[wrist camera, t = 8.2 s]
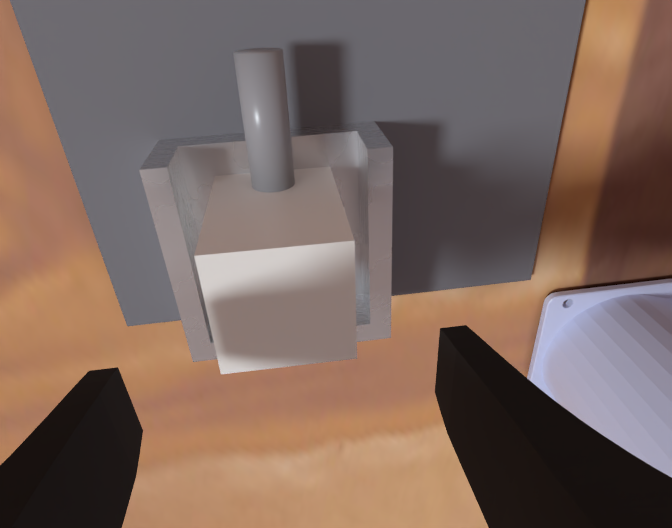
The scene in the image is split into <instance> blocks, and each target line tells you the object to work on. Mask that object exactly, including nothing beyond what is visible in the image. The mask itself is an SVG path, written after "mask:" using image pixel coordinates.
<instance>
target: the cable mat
mask: <svg viewBox="0 0 672 528" xmlns="http://www.w3.org/2000/svg"><path fill="white" fill-rule="evenodd" d="M10 2H11V4H12V7H13V10H14V13H15V16H16V18H17V21H18V24H19V27H20V29H21V32H22V35H23V38H24V41H25V43H26V46H27V49H28V52H29V54H30V57H31V60H32V63H33V65H34V68H35V71H36V74H37V77H38V79H39V82H40V85H41V88H42V90H43V93H44V96H45V99H46V102H47V104H48V107H49V110H50V113H51V115H52V118H53V121H54V124H55V127H56V129H57V132H58V135H59V138H60V140H61V143H62V146H63V149H64V152H65V154H66V157H67V160H68V163H69V165H70V168H71V171H72V174H73V177H74V179H75V182H76V185H77V188H78V190H79V193H80V196H81V199H82V201H83V204H84V207H85V210H86V213H87V215H88V218H89V221H90V224H91V226H92V229H93V232H94V235H95V238H96V240H97V243H98V246H99V249H100V251H101V254H102V257H103V260H104V263H105V265H106V268H107V271H108V274H109V276H110V279H111V282H112V285H113V288H114V290H115V293H116V296H117V299H118V301H119V304H120V307H121V310H122V312H123V315H124V318H125V321H126V324H127V326H134V325H143V324H151V323H160V322H169V321H177V320H181V317H180V314H179V310H178V306H177V303H176V299H175V296H174V292H173V289H172V285H171V282H170V278H169V274H168V271H167V267H166V264H165V260H164V257H163V253H162V250H161V246H160V243H159V239H158V235H157V232H156V228H155V225H154V221H153V218H152V214H151V211H150V207H149V203H148V200H147V196H146V193H145V189H144V186H143V182H142V179H141V175H140V171H139V169H140V168H141V166H142V165H143V163H144V162H145V160H146V159H147V157H148V156H149V154H150V153H151V151H152V149H153V148H154V146H155V145H156V143H157V142H158V140H163V139H175V138H187V137H198V136H210V135H222V134H233V133H244V126H243V119H242V112H241V105H240V98H239V91H238V84H237V77H236V70H235V62H234V55H233V52H235V51H238V50H243V49H251V48H281V49H283V56H284V67H285V78H286V89H287V100H288V111H289V123H290V129H292V128H303V127H315V126H327V125H338V124H350V123H362V122H373V121H374V122H375V123H376V124H377V126H378V127H379V128H380V130H381V131H382V132H383V134H384V135H385V137H386V138H387V139H388V141H389V142H390V143H391V145H392V146H393V202H392V281H391V296H394V295H403V294H412V293H420V292H429V291H438V290H446V289H455V288H464V287H472V286H481V285H490V284H498V283H507V282H516V281H524V280H531V275H532V270H533V265H534V260H535V255H536V250H537V245H538V240H539V235H540V230H541V225H542V220H543V215H544V209H545V204H546V199H547V194H548V189H549V184H550V179H551V174H552V169H553V164H554V159H555V154H556V149H557V144H558V139H559V133H560V128H561V123H562V118H563V113H564V108H565V103H566V98H567V93H568V88H569V83H570V78H571V73H572V68H573V63H574V57H575V52H576V47H577V42H578V37H579V32H580V27H581V22H582V17H583V12H584V7H585V2H586V0H10Z"/></svg>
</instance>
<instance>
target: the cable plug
mask: <svg viewBox="0 0 672 528" xmlns="http://www.w3.org/2000/svg"><path fill="white" fill-rule="evenodd" d="M233 55H234V62H235V70H236V77H237V84H238V91H239V98H240V105H241V112H242V119H243V126H244V133H245V141H246V148H247V155H248V162H249V169H250V173H244V174H232V175H220V176H215V177H214V181H213V185H212V189H211V193H210V197H209V200H208V204H207V208H206V212H205V216H204V220H203V224H202V228H201V231H200V235H199V239H198V243H197V247H196V251H195V255H194V257H195V262H196V266H197V271H198V275H199V279H200V284H201V288H202V293H203V297H204V301H205V306H206V310H207V315H208V319H209V323H210V328H211V332H212V337H213V341H214V345H215V350H216V354H217V359H218V363H219V367H220V372H221V374H228V373H236V372H245V371H254V370H262V369H271V368H280V367H288V366H297V365H305V364H314V363H323V362H331V361H340V360H348V359H357V332H356V285H355V240H354V237H353V234H352V231H351V228H350V225H349V222H348V219H347V216H346V213H345V210H344V207H343V204H342V201H341V198H340V195H339V192H338V189H337V186H336V183H335V180H334V177H333V174H332V171H331V168H330V167H318V168H306V169H294V167H293V156H292V145H291V134H290V123H289V111H288V100H287V89H286V78H285V67H284V56H283V49H281V48H251V49H243V50H238V51H235V52H233Z"/></svg>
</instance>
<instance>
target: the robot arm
mask: <svg viewBox="0 0 672 528" xmlns="http://www.w3.org/2000/svg"><path fill="white" fill-rule="evenodd" d="M566 300H567V301H566ZM564 301H566V302H565V303H563V302H564ZM435 394H436V397H437V401H438V404H439V407H440V411H441V414H442V417H443V421H444V424H445V427H446V430H447V433H448V435H449V438H450V440H451V443H452V445H453V447H454V449H455V452H456V454H457V456H458V459H459V461H460V463H461V466H462V468H463V470H464V472H465V475H466V477H467V479H468V481H469V484H470V486H471V488H472V490H473V493H474V495H475V497H476V500H477V502H478V504H479V506H480V509H481V511H482V513H483V515H484V518H485V520H486V522H487V524H488V527H489V528H672V278H671V279H663V280H654V281H646V282H637V283H629V284H620V285H612V286H603V287H595V288H587V289H578V290H570V291H561V292H555V293H551V294H550V295H548V296H547V297H546V299H545V301H544V304H543V309H542V313H541V318H540V322H539V327H538V331H537V336H536V340H535V345H534V349H533V354H532V358H531V363H530V367H529V372H528V376H527V378H526V377H525V376H524V375H522V374H521V373H520V372H519V371H518V370H517V369H515V368H514V367H513V366H512V365H511V364H510V363H508V362H507V361H506V360H505V359H504V358H503V357H502V356H500V355H499V354H498V353H497V352H496V351H495V350H494V349H492V348H491V347H490V346H489V345H488V344H487V343H486V342H485V341H483V340H482V339H481V338H480V337H479V336H478V335H477V334H476V333H474V332H473V331H472V330H471V329H470V328H469V327H467V326H466V325H464V326H456V327H448V328H440V337H439V349H438V361H437V373H436V386H435ZM142 433H143V430H142V427H141V425H140V422H139V420H138V417H137V414H136V412H135V409H134V407H133V404H132V402H131V399H130V397H129V394H128V392H127V389H126V387H125V384H124V382H123V379H122V377H121V374H120V372H119V369H118V368H110V369H101V370H93V371H89V372H88V373H87V374H86V375H85V376H84V377H83V378H82V379H81V380H80V381H79V382H78V383H77V384H76V385H75V386H74V388H73V389H72V390H71V391H70V392H69V393H68V394H67V395H66V396H65V397H64V399H63V400H62V401H61V402H60V403H59V404H58V405H57V406H56V407H55V408H54V409H53V411H52V412H51V413H50V414H49V415H48V416H47V417H46V418H45V419H44V420H43V421H42V423H41V424H40V425H39V426H38V427H37V428H36V429H35V430H34V431H33V432H32V433H31V434H30V435H29V436H28V437H27V439H26V440H25V441H24V442H23V443H22V444H21V445H20V446H19V447H18V448H17V449H16V450H15V451H14V452H13V453H12V454H11V456H10V457H8V458H7V459H6V460H5V461H4V462H3V463H2V464H1V465H0V528H122V524H123V521H124V517H125V514H126V510H127V507H128V503H129V500H130V496H131V492H132V489H133V485H134V481H135V478H136V473H137V467H138V461H139V455H140V447H141V440H142Z"/></svg>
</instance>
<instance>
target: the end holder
mask: <svg viewBox="0 0 672 528" xmlns="http://www.w3.org/2000/svg"><path fill="white" fill-rule="evenodd" d="M290 134H291V145H292V156H293V167H294V169H306V168H318V167H330V168H331V171H332V174H333V177H334V180H335V183H336V186H337V189H338V192H339V195H340V198H341V201H342V204H343V207H344V210H345V213H346V216H347V219H348V222H349V225H350V228H351V231H352V234H353V237H354V240H355V285H356V332H357V342H360V341H368V340H376V339H385V338H391V281H392V202H393V146H392V145H391V143H390V142H389V141H388V139H387V138H386V137H385V135H384V134H383V132H382V131H381V130H380V128H379V127H378V126H377V124H376V123H375V122H374V121H373V122H362V123H350V124H338V125H327V126H315V127H303V128H292V129H290ZM139 171H140V175H141V179H142V182H143V186H144V189H145V193H146V196H147V200H148V203H149V207H150V211H151V214H152V218H153V221H154V225H155V228H156V232H157V235H158V239H159V243H160V246H161V250H162V253H163V257H164V260H165V264H166V267H167V271H168V274H169V278H170V282H171V285H172V289H173V292H174V296H175V299H176V303H177V306H178V310H179V314H180V317H181V321H182V324H183V328H184V331H185V335H186V338H187V342H188V346H189V349H190V353H191V356H192V360H193V362H197V361H205V360H213V359H217V354H216V350H215V345H214V341H213V337H212V332H211V328H210V323H209V319H208V315H207V310H206V306H205V301H204V297H203V293H202V288H201V284H200V279H199V275H198V271H197V266H196V262H195V257H194V255H195V251H196V247H197V243H198V239H199V235H200V231H201V228H202V224H203V220H204V216H205V212H206V208H207V204H208V200H209V197H210V193H211V189H212V185H213V181H214V177H215V176H220V175H232V174H244V173H250V169H249V162H248V155H247V148H246V141H245V133H233V134H222V135H210V136H198V137H187V138H175V139H163V140H158V142H157V143H156V145H155V146H154V148H153V149H152V151H151V153H150V154H149V156H148V157H147V159H146V160H145V162H144V163H143V165H142V166H141V168H140V169H139Z"/></svg>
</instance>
